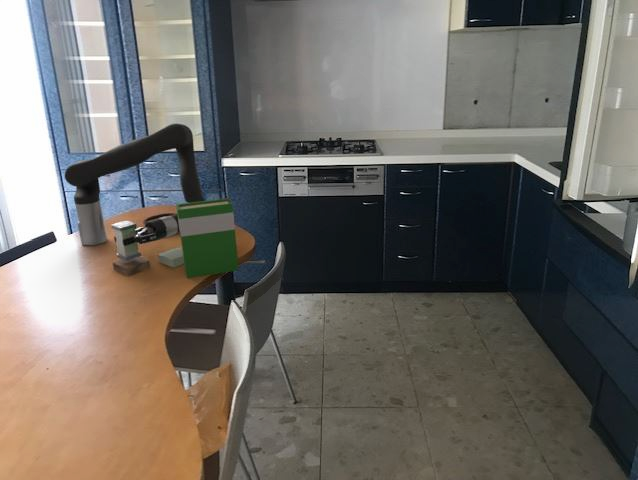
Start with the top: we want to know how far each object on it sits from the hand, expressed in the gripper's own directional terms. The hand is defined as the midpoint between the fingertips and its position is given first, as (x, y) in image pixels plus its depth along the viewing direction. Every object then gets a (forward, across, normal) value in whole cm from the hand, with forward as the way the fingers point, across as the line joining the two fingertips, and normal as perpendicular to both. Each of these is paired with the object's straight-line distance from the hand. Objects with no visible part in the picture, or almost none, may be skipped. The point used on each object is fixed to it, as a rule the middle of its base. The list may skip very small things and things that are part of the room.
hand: (119, 241), depth 174 cm
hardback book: (-19, +24, +11) cm, 33 cm away
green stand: (-17, +7, +11) cm, 21 cm away
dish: (-36, -28, +12) cm, 47 cm away
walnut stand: (-3, 0, +11) cm, 12 cm away
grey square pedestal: (-3, 0, +6) cm, 7 cm away
